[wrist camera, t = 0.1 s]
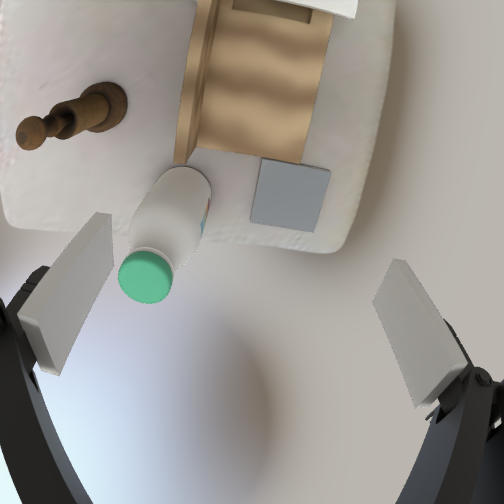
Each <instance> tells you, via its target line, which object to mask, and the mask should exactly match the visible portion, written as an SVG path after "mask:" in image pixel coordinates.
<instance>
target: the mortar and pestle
mask: <svg viewBox="0 0 504 504" xmlns="http://www.w3.org/2000/svg"><path fill="white" fill-rule="evenodd" d="M126 110H127V98H126V95H125V93H124V91H123V90H122V88H121V87H119V86H118V85H116V84H114V83H111V82H102V83H97V84H94V85H91V86H90V87H88V88H87V89H85V90H84V92H83V93H82V94H81V96H80V97H79V98H77V99H73V100H69V101H65V102H61V103H58V104H56V105H55V106H54V107H53V108H52V109H51V111H50V113H49V115H47V116H45V117H44V118H43V119H42V118H40V117H37V116H31V117H28V118H26V119H24V120H23V121H22V122H21V123H20V124H19V126H18V128H17V130H16V141H17V143H18V145H19V146H20V147H21V148H22V149H24V150H34V149H37V148H38V147H40V146H41V145H42V144H43V143H44V141H45V139H46V137H54V136H55V137H56V138H58V139H61V140H65V139H68V138H70V137H72V136H74V135H76V134H78V133H80V132H82V131H84V130H88V131H91V132H95V133H99V132H104V131H106V130H109V129H110V128H113V127H114V126H116V125H117V124H118V123H119V122H120V121H121V120H122V119H123V117H124V115H125V113H126Z"/></svg>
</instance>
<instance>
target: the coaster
mask: <svg viewBox="0 0 504 504" xmlns="http://www.w3.org/2000/svg"><path fill="white" fill-rule="evenodd" d="M330 175H331V172H330V170H326V169H321V168H317V167H312V166H307V165H302V164H297V163H292V162H287V161H282V160H276V159H271V158H265V157H262V162H261V167H260V172H259V177H258V182H257V187H256V192H255V197H254V202H253V207H252V212H251V217H250V222H251V223H258V224H264V225H270V226H277V227H283V228H289V229H295V230H301V231H307V232H313V233H314V229H315V226H316V223H317V220H318V216H319V213H320V210H321V206H322V203H323V199H324V196H325V192H326V189H327V186H328V182H329V178H330Z"/></svg>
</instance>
